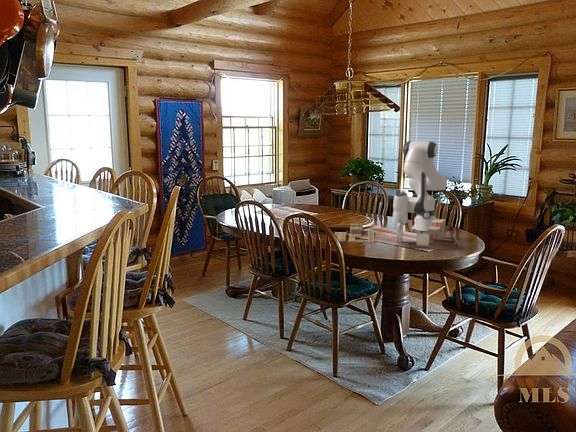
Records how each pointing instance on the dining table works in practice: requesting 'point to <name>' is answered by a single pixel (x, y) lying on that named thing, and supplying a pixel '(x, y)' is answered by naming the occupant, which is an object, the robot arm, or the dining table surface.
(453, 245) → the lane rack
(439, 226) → the stack of blocks
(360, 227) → the pile of dominoes
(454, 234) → the dining table surface
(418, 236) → the block
